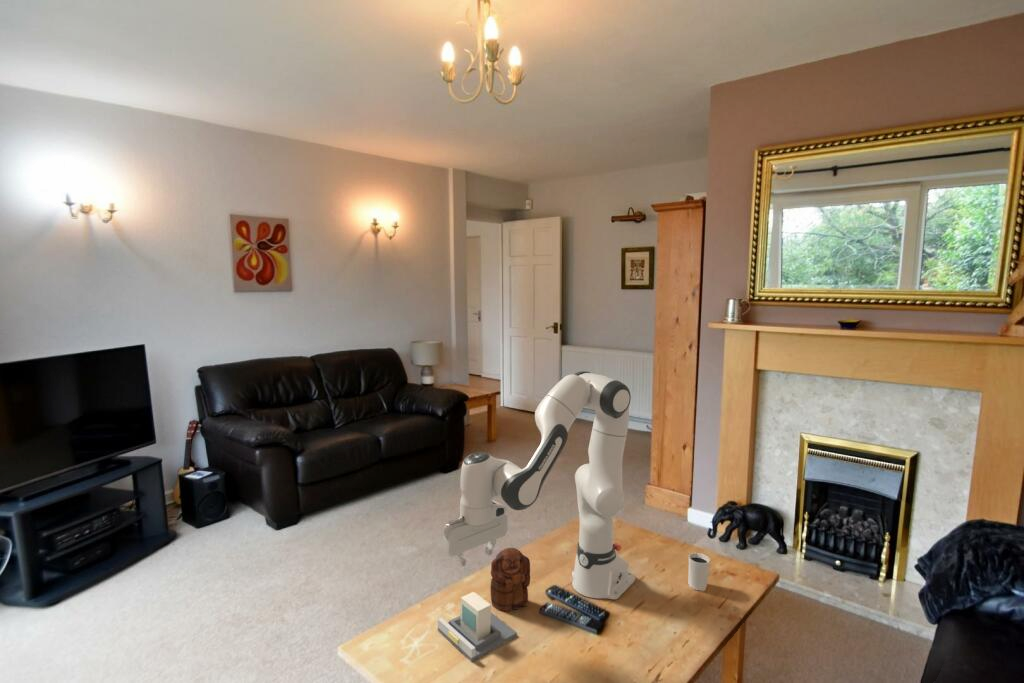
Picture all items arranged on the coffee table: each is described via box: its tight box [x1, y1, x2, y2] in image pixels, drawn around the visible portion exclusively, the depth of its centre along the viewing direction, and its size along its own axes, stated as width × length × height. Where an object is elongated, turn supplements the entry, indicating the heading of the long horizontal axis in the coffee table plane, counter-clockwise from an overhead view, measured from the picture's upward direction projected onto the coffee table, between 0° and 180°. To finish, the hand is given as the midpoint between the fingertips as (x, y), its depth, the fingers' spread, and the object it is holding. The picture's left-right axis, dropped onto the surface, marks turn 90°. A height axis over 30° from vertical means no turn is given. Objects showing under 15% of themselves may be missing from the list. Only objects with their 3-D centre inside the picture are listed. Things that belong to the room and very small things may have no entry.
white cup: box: [687, 552, 711, 590], centre depth 174 cm, size 7×7×10 cm
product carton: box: [460, 591, 492, 642], centre depth 148 cm, size 5×8×9 cm, turn 41°
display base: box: [437, 612, 518, 662], centre depth 149 cm, size 16×16×4 cm
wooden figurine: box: [490, 547, 531, 612], centre depth 161 cm, size 12×6×18 cm, turn 110°
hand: (475, 559), depth 146 cm, fingers open, 8 cm apart
